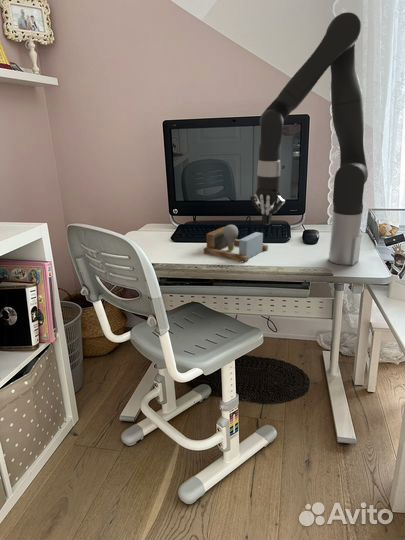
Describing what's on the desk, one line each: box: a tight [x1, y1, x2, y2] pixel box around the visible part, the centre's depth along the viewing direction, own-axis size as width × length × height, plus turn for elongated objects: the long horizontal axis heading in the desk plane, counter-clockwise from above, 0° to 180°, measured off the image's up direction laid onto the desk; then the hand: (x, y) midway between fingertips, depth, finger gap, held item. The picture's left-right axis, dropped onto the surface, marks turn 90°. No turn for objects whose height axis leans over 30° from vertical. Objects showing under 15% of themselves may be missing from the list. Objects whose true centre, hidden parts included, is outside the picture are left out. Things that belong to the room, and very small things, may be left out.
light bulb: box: [223, 224, 239, 252], centre depth 159 cm, size 5×6×10 cm
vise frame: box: [203, 226, 269, 263], centre depth 158 cm, size 18×16×7 cm
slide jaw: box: [238, 231, 264, 260], centre depth 155 cm, size 3×12×7 cm, turn 144°
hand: (266, 224), depth 148 cm, fingers closed
